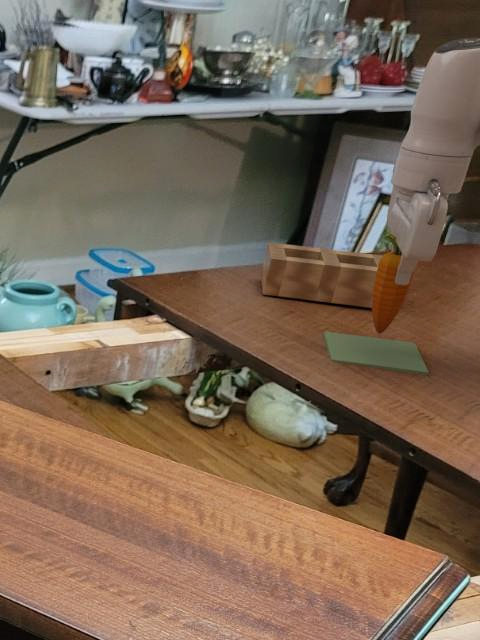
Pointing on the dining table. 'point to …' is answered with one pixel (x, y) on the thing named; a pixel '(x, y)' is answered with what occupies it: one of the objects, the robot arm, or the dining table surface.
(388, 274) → the carrot
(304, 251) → the rack
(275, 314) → the dining table surface
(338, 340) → the mat
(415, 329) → the dining table surface
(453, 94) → the robot arm
